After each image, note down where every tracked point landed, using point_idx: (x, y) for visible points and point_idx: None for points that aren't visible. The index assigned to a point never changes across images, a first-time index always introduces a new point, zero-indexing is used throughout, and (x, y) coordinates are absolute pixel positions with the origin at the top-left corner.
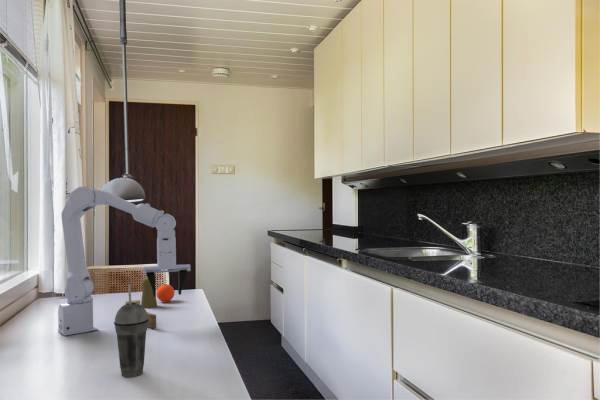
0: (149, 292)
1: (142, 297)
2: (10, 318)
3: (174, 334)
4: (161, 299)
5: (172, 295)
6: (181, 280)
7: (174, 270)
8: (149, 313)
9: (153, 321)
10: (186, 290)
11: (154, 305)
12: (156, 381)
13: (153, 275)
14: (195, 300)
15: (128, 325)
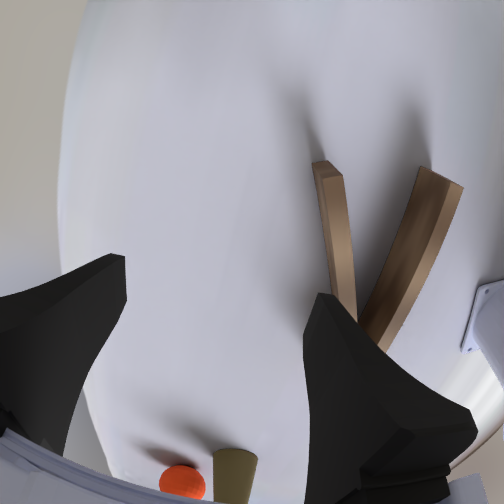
0: (232, 488)
1: (252, 481)
2: (480, 445)
3: (261, 10)
4: (196, 472)
5: (166, 473)
6: (29, 303)
7: (56, 469)
8: (341, 244)
9: (333, 168)
10: None
11: (222, 453)
12: None
13: (425, 435)
14: (113, 441)
15: None
